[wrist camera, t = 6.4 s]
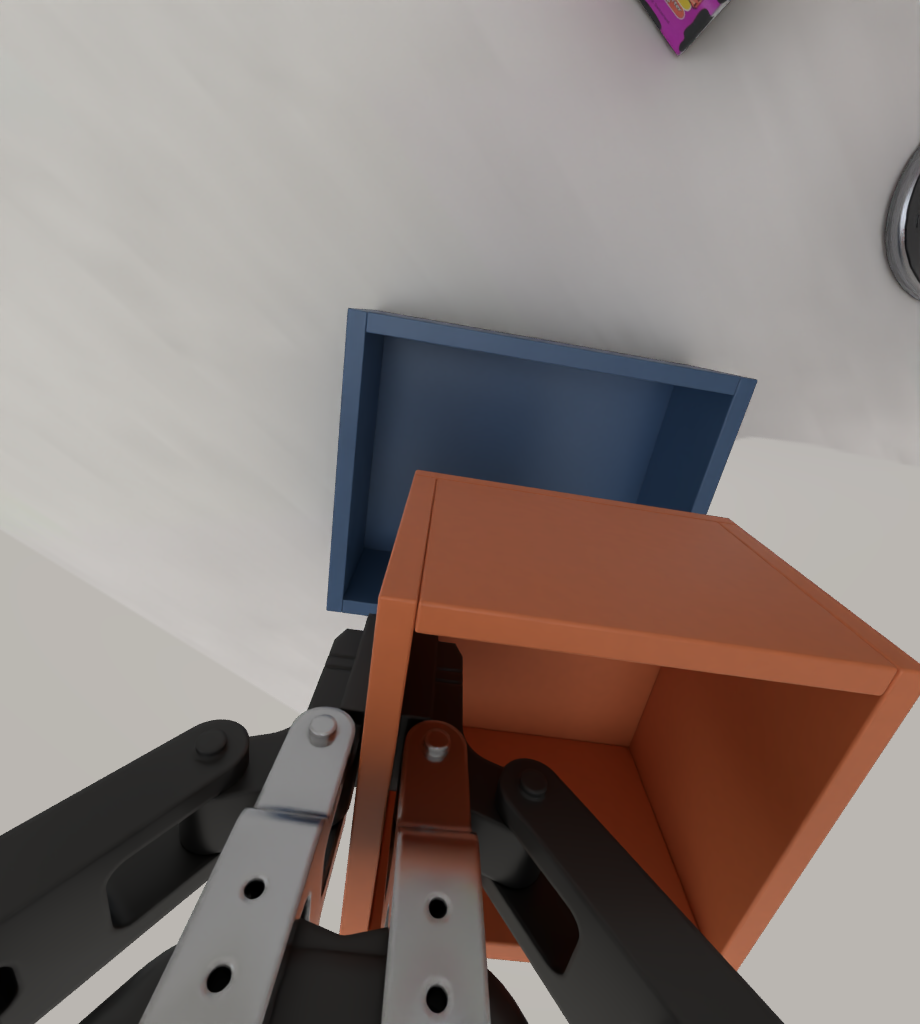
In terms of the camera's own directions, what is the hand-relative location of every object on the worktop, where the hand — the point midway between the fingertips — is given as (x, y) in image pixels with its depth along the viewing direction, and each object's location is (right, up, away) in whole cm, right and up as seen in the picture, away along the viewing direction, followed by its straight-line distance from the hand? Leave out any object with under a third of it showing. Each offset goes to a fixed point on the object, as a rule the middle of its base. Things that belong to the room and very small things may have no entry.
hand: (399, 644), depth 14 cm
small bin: (+4, 0, +2) cm, 4 cm away
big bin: (+5, +6, +15) cm, 17 cm away
